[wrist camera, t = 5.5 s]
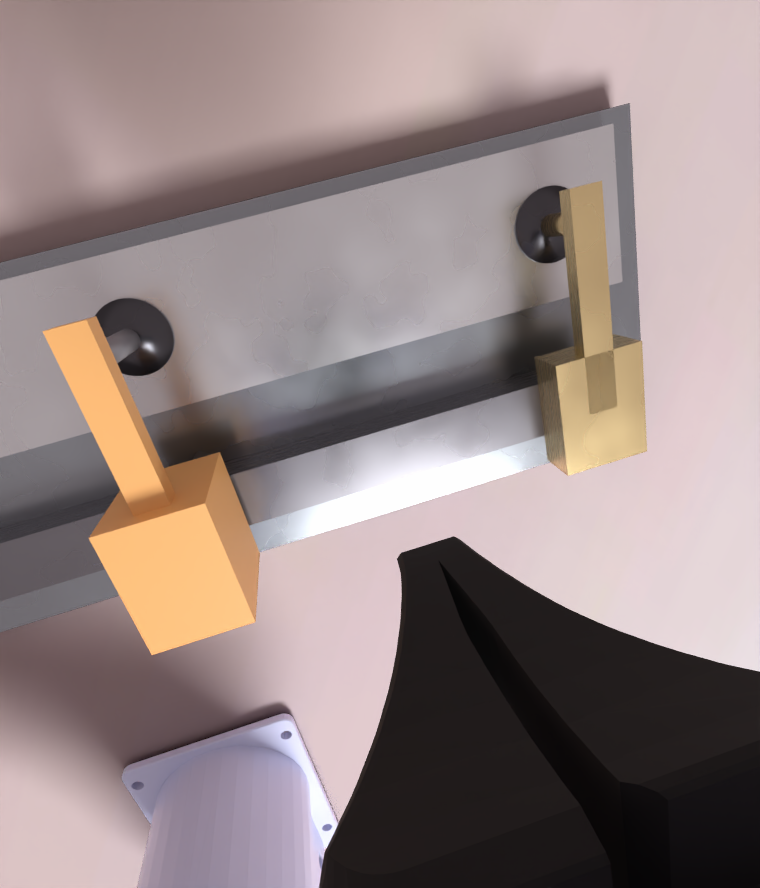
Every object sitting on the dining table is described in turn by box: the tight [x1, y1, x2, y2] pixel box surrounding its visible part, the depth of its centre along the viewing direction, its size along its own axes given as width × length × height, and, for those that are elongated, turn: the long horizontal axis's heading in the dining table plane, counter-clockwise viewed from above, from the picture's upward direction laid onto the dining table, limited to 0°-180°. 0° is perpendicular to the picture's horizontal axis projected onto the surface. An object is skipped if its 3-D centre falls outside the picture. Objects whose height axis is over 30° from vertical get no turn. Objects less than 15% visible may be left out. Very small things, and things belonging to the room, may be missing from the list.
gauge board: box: [0, 103, 647, 632], centre depth 17 cm, size 12×29×4 cm, turn 104°
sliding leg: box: [42, 316, 260, 655], centre depth 15 cm, size 9×3×4 cm, turn 14°
